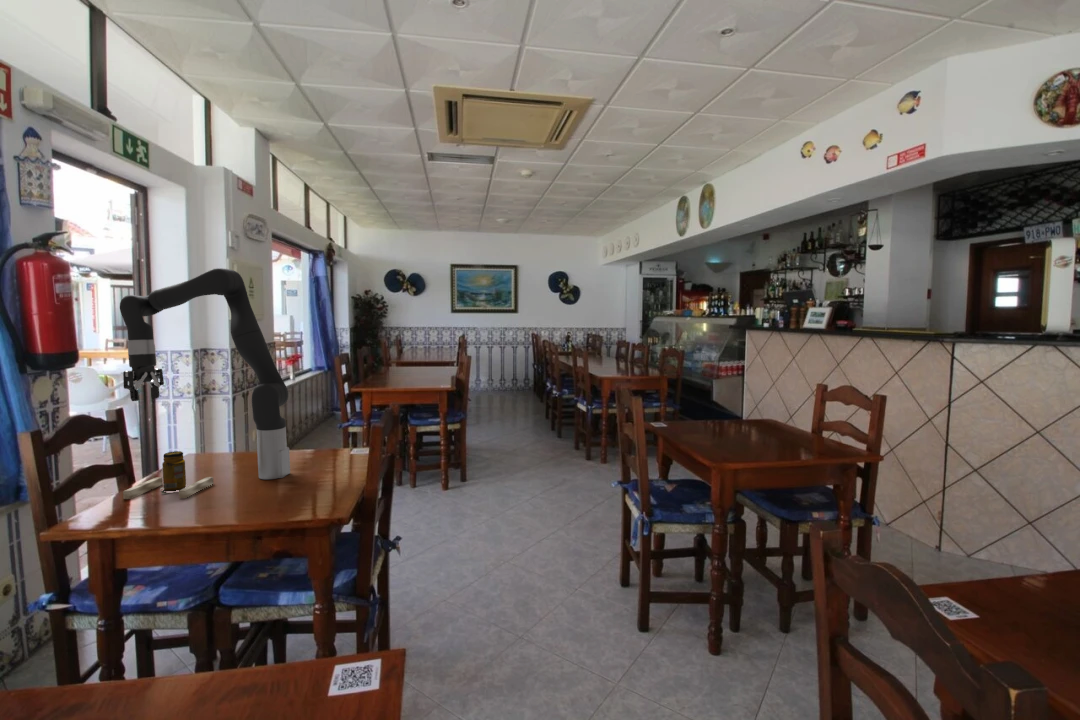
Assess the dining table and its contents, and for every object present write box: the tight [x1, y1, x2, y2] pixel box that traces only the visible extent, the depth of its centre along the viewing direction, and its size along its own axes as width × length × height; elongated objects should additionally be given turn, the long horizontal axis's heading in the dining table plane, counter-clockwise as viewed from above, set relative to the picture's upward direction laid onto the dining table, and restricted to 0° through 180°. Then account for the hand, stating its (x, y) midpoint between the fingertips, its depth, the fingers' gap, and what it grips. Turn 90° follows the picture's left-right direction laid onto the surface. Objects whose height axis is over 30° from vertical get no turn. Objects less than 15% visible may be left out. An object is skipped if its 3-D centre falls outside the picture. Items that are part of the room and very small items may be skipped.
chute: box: [122, 476, 214, 500], centre depth 166 cm, size 14×19×2 cm
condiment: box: [159, 450, 187, 495], centre depth 167 cm, size 7×8×12 cm
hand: (145, 399), depth 179 cm, fingers open, 8 cm apart
